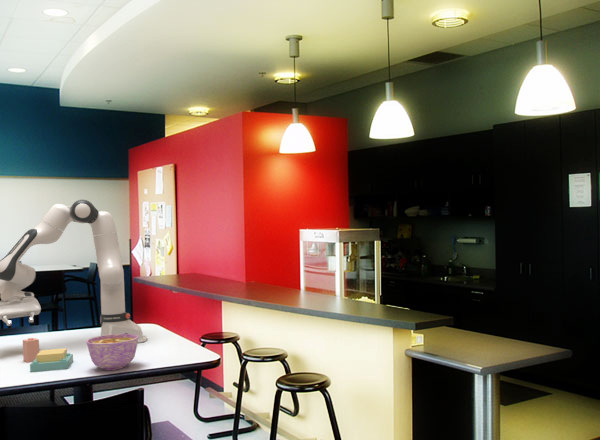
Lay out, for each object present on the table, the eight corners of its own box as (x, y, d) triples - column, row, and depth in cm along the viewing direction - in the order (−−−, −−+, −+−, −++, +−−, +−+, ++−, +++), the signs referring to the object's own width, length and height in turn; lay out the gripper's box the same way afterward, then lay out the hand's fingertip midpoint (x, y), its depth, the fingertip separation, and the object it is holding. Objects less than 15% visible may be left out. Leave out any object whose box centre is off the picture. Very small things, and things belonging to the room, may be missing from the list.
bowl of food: (100, 361, 249) (99, 334, 249) (147, 361, 247) (145, 333, 247) (77, 374, 229) (76, 344, 229) (128, 373, 227) (127, 343, 227)
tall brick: (35, 358, 260) (34, 336, 260) (39, 360, 256) (38, 338, 256) (23, 360, 257) (22, 338, 257) (27, 362, 253) (26, 340, 253)
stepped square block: (73, 361, 253) (72, 346, 253) (67, 368, 239) (67, 353, 239) (37, 364, 250) (37, 349, 250) (30, 372, 236) (29, 356, 236)
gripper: (-11, 297, 264) (-4, 322, 257) (37, 292, 278) (45, 315, 271) (-14, 307, 267) (-6, 331, 260) (34, 301, 281) (42, 324, 274)
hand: (20, 323), depth 266 cm, fingers open, 8 cm apart
